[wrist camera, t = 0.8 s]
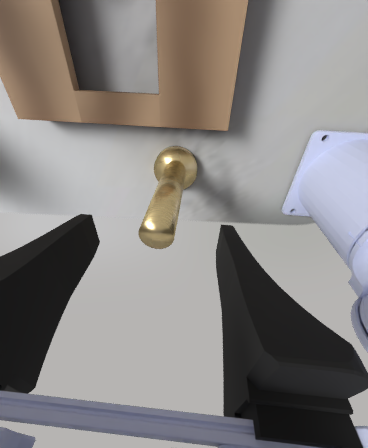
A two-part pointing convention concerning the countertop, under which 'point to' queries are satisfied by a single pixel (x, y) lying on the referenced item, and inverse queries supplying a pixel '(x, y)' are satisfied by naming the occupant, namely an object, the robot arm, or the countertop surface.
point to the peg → (167, 196)
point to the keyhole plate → (125, 101)
